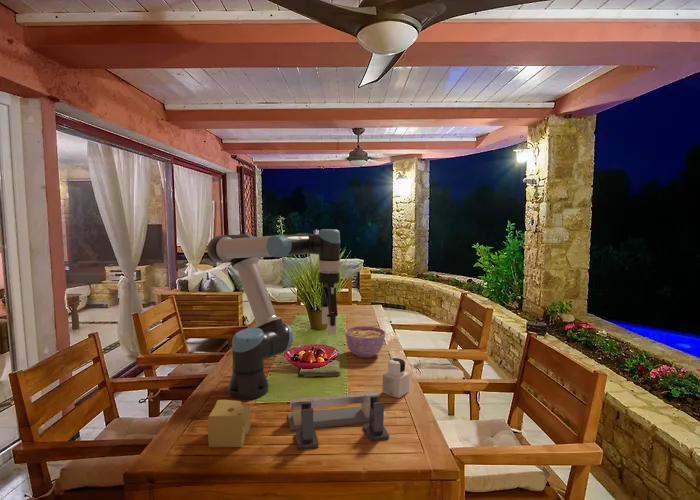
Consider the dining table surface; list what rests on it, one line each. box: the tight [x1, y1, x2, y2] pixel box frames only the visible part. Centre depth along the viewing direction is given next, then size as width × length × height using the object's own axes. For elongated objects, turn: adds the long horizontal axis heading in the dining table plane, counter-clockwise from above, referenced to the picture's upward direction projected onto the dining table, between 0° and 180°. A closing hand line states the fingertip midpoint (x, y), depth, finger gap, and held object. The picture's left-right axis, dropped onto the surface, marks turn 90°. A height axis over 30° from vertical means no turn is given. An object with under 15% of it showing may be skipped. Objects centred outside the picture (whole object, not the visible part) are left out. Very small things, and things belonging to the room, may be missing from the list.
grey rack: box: [295, 394, 390, 451], centre depth 122 cm, size 28×8×11 cm, turn 103°
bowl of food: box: [344, 325, 387, 359], centre depth 194 cm, size 20×20×12 cm
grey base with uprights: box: [287, 402, 370, 432], centre depth 134 cm, size 31×10×5 cm, turn 103°
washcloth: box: [299, 359, 342, 378], centre depth 173 cm, size 13×18×3 cm
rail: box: [289, 391, 380, 411], centre depth 133 cm, size 30×2×2 cm, turn 103°
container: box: [381, 357, 411, 399], centre depth 153 cm, size 8×8×13 cm
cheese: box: [207, 399, 251, 448], centre depth 120 cm, size 10×11×10 cm
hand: (328, 328), depth 145 cm, fingers open, 13 cm apart
